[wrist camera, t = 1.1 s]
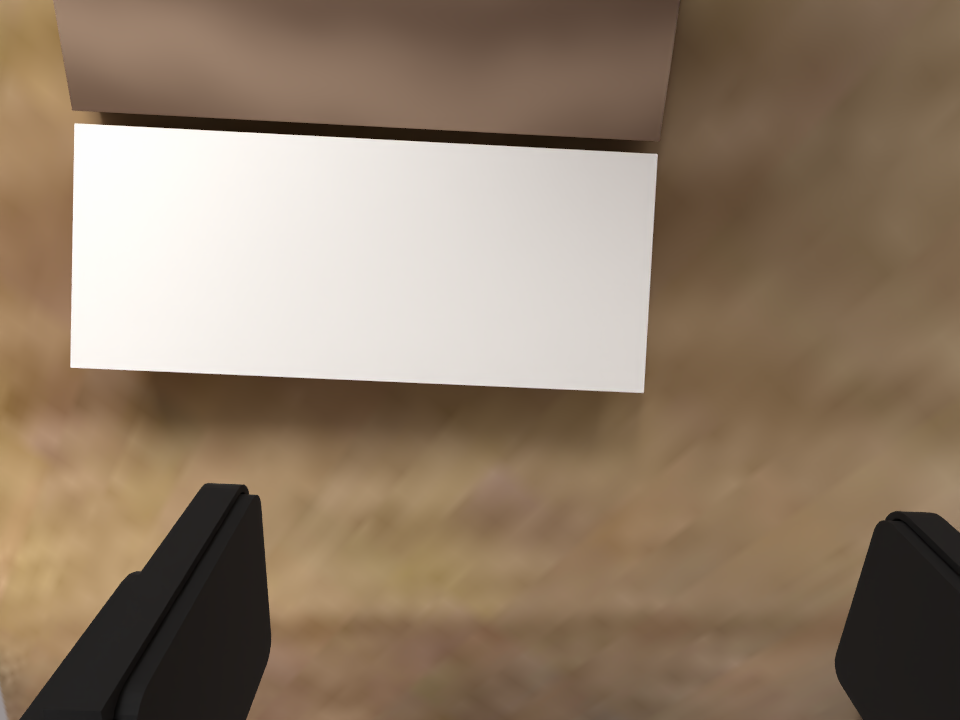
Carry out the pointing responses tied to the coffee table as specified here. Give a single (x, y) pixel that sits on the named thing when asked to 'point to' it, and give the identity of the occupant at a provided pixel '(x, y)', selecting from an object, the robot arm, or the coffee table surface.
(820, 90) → the coffee table surface
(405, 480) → the coffee table surface
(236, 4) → the walnut plank
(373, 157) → the off-white plank
